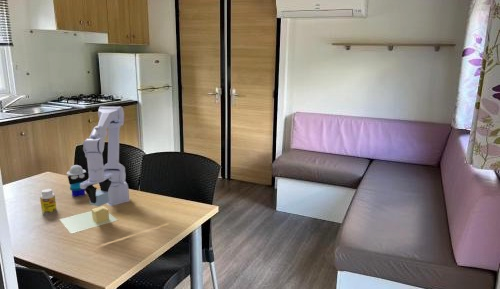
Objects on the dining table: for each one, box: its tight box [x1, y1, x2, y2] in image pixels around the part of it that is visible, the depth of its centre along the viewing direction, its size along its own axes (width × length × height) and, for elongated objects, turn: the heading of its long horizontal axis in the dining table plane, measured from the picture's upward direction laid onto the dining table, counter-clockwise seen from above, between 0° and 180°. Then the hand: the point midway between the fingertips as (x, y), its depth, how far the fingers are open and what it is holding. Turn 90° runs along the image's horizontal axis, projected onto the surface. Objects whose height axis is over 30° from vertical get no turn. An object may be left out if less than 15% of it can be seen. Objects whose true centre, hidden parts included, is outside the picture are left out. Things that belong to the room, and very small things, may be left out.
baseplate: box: [59, 210, 118, 234], centre depth 154 cm, size 18×16×1 cm
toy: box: [66, 164, 88, 197], centre depth 179 cm, size 8×9×15 cm
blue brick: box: [89, 189, 109, 207], centre depth 152 cm, size 5×5×4 cm
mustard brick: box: [91, 205, 110, 223], centre depth 153 cm, size 5×5×4 cm
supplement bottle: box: [39, 188, 57, 215], centre depth 160 cm, size 6×6×10 cm
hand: (99, 200), depth 152 cm, fingers closed on blue brick, 5 cm apart
